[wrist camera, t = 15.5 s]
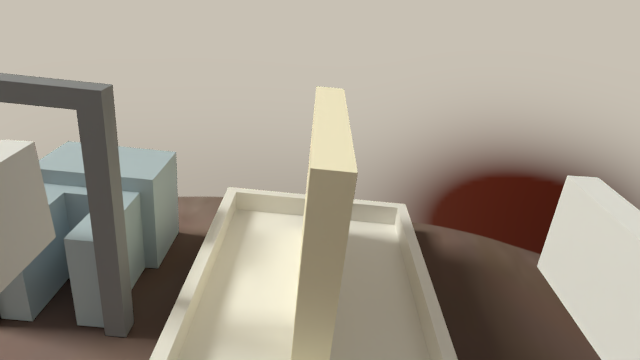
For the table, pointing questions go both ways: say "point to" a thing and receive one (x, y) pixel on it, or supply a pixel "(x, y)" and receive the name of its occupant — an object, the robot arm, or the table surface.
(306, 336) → the cream rectangular board
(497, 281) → the table surface
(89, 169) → the door frame
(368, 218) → the tray
